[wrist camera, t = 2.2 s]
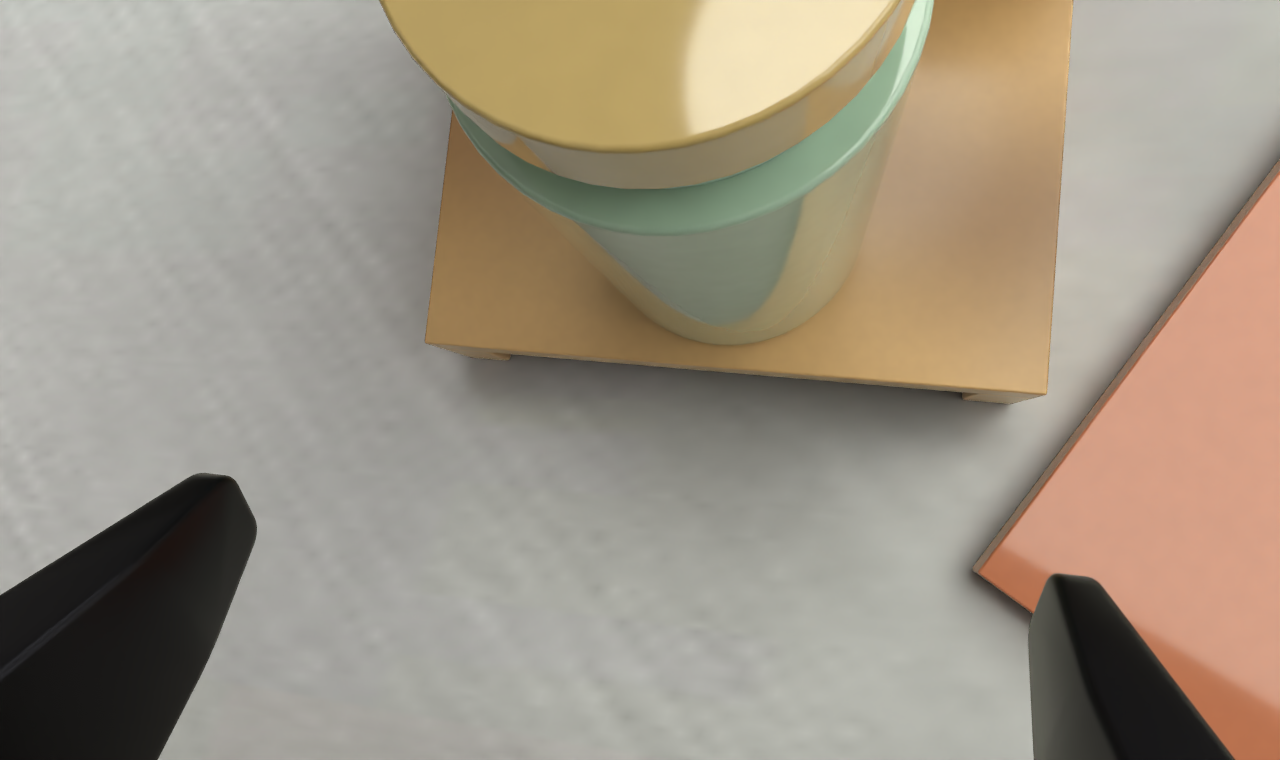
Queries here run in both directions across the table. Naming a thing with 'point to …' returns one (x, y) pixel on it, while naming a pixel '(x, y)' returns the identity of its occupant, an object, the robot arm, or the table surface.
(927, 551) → the table surface
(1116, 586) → the trivet
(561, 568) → the table surface
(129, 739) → the robot arm
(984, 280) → the shelf
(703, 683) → the table surface
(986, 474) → the table surface
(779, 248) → the jar
